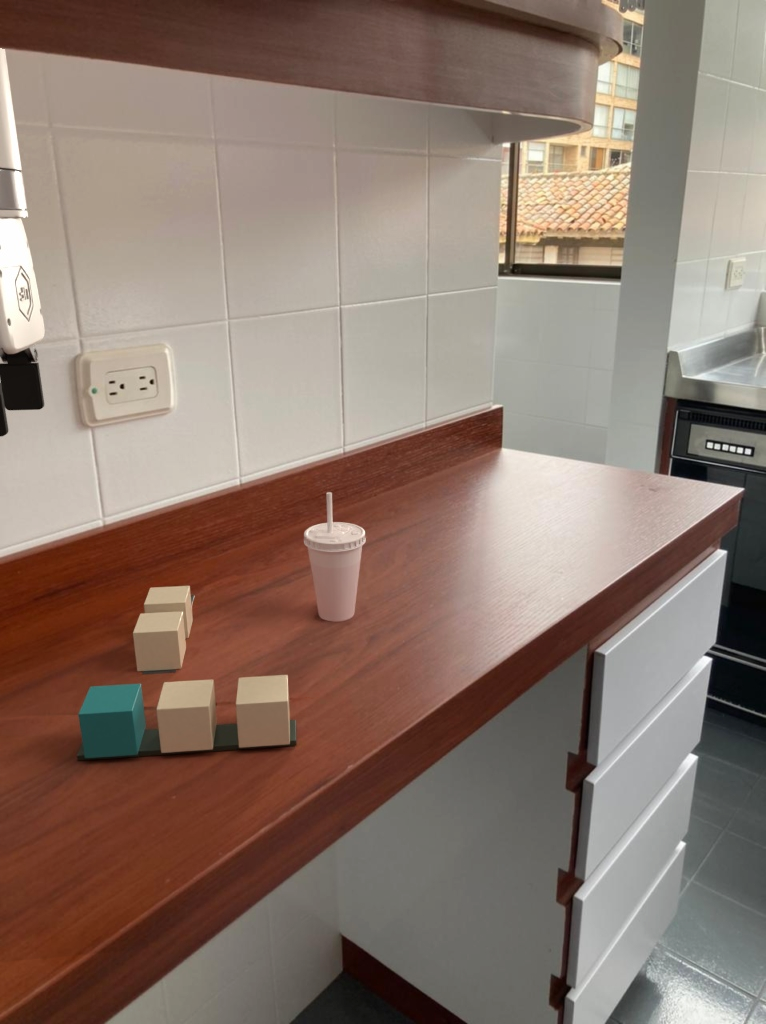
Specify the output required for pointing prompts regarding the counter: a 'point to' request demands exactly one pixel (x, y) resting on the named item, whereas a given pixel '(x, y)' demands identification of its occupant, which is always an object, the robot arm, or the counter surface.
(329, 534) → the smoothie
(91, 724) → the teal rectangular block
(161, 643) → the beige double cube
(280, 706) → the dark strip with cubes
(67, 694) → the counter surface
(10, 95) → the robot arm
